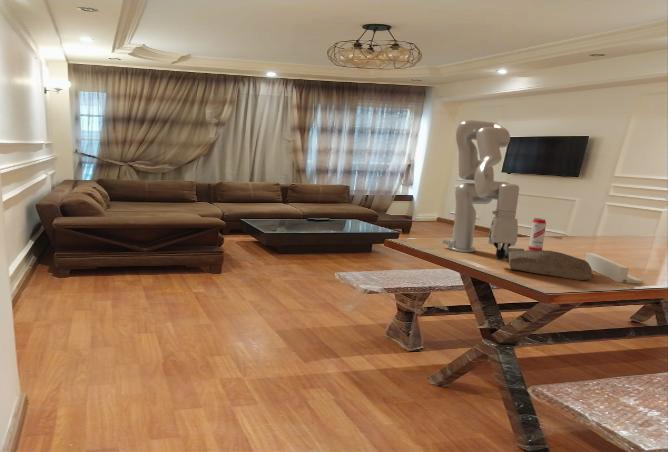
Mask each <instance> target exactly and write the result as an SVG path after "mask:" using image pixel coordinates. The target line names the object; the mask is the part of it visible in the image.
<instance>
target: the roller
mask: <svg viewBox="0 0 668 452" xmlns="http://www.w3.org/2000/svg"><path fill="white" fill-rule="evenodd" d="M511 251H525V249H524V248H519V247H517V248H515V247H508V248H507V250H505V256H504V257H503V258H509V252H511Z"/></svg>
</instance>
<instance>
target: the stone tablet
mask: <svg viewBox="0 0 668 452" xmlns="http://www.w3.org/2000/svg"><path fill="white" fill-rule="evenodd" d="M508 263H509V264H508V265H509V268H510V269H511V270H516V271H521V272H525V273H532V274H540V275H544V276H550V277H558V278H563V279H567V280H577V281H588V280H591V279H592V278H593V274H594V273H593V270H592V269H591V267H590V265H589V263H588V262H587V261H585V259H581V258H578V257H575V256H572V255H569V254H566V253H562V252H558V251H555V250H554V251H553V250H543V249H542V250H534V251H530V250H529V249H528V250H524V251H511V252H509V257H508Z"/></svg>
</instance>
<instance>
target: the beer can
mask: <svg viewBox="0 0 668 452" xmlns="http://www.w3.org/2000/svg"><path fill="white" fill-rule="evenodd" d="M546 226H547V222H546V219H545V218H538V217H537V218H536V217H535V218H533V220H532V222H531V230H530V234H529V235H530V236H529V242H528V250H531V251H534V250H543V248H544V241H545V240H544V239H545V235H546Z"/></svg>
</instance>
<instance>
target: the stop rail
mask: <svg viewBox="0 0 668 452" xmlns="http://www.w3.org/2000/svg"><path fill="white" fill-rule="evenodd" d="M584 260H585V261H587V262H588V263H589V265H590V267H591V269H592V271H594V272H596V273H598V274H600V275H602V276H604V277H606V278H608V279H611V280H613V281H615V282H617V283H622V284H623V283H624V284H625V283H627V284H639V285H640V284H642V285H643V284H644V280H642V279H640V278H638V277H635V276H633V275H631V274H629V269H630V268H629V266H626V265H623V264H621V263H618V262H616V261H613V260H611V259H608V258H606V257H603V256H601V255H599V254H596V253H594V252H586V253H585V257H584Z"/></svg>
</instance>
